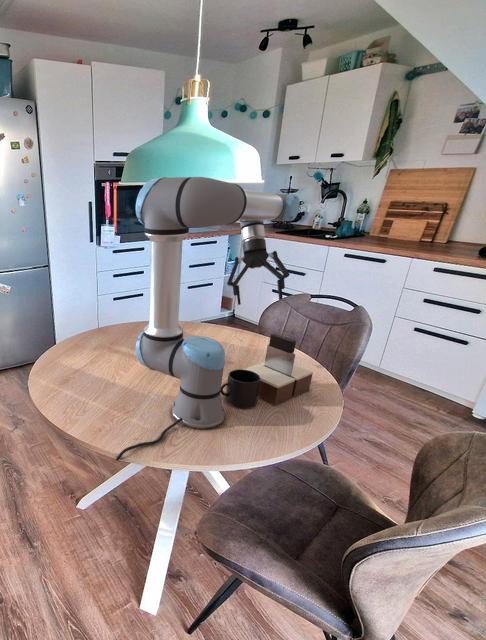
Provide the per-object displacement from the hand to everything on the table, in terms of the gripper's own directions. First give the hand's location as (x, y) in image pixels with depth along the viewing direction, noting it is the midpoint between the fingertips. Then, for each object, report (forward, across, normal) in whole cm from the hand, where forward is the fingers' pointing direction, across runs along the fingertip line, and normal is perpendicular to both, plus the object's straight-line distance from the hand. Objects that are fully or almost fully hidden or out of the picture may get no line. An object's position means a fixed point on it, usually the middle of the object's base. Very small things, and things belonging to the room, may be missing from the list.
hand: (259, 301), depth 134 cm
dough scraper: (+24, -3, +6) cm, 25 cm away
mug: (+32, +12, +15) cm, 37 cm away
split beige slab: (+30, -1, +4) cm, 30 cm away
